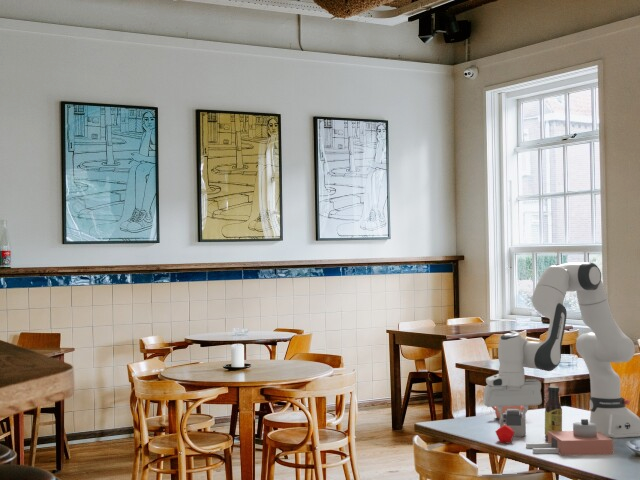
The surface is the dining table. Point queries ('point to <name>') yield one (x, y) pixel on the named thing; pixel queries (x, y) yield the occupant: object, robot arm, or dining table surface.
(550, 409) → the sauce bottle
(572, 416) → the dining table surface
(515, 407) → the teapot
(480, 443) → the dining table surface
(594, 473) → the dining table surface
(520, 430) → the cup
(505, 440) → the red pentagonal block
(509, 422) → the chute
